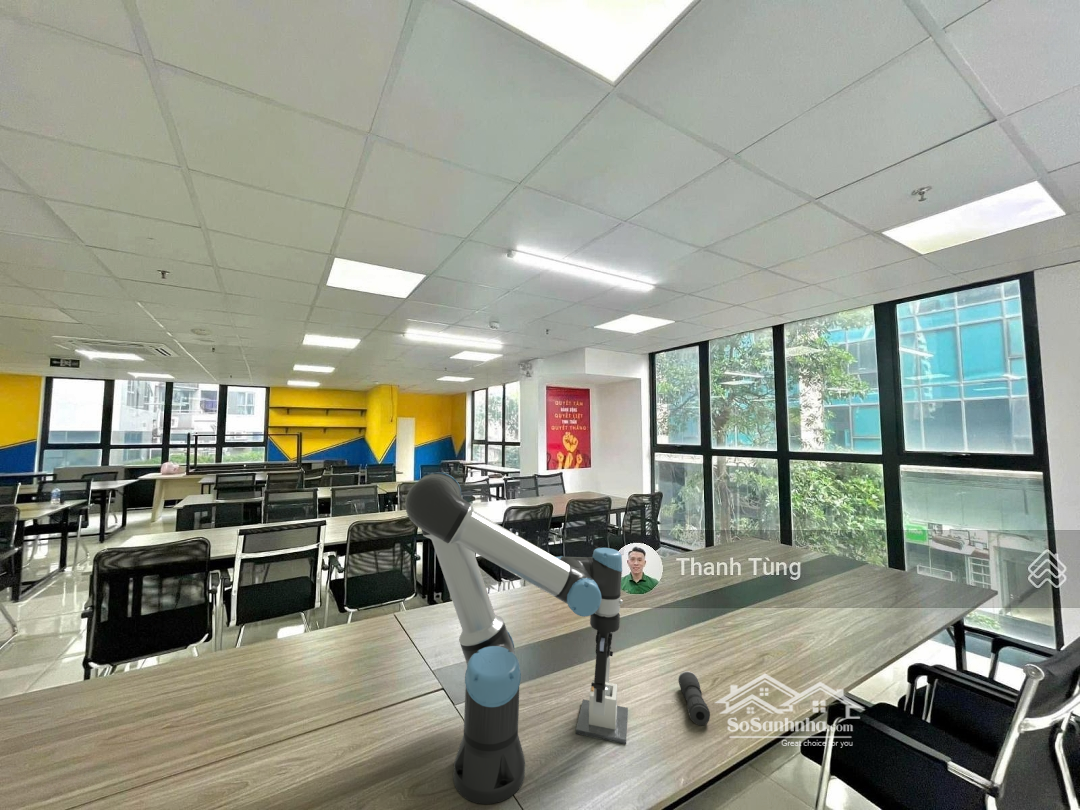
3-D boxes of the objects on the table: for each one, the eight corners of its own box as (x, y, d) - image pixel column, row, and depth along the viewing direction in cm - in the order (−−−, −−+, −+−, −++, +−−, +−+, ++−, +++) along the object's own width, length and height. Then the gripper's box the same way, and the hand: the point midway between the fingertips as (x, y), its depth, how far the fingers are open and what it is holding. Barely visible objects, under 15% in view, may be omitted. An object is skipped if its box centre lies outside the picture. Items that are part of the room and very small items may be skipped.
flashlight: (711, 729, 105) (711, 706, 106) (689, 726, 106) (689, 704, 106) (697, 691, 120) (697, 672, 121) (678, 689, 121) (678, 670, 121)
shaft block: (626, 744, 99) (626, 706, 99) (575, 733, 102) (576, 697, 102) (627, 711, 110) (628, 678, 111) (582, 703, 113) (583, 670, 114)
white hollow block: (615, 729, 102) (615, 698, 102) (588, 724, 104) (589, 694, 104) (616, 711, 108) (617, 683, 109) (591, 707, 110) (592, 678, 110)
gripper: (617, 635, 95) (613, 733, 93) (622, 595, 119) (619, 673, 117) (584, 630, 97) (579, 726, 95) (596, 591, 121) (592, 667, 119)
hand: (601, 696), depth 106 cm, fingers open, 13 cm apart
